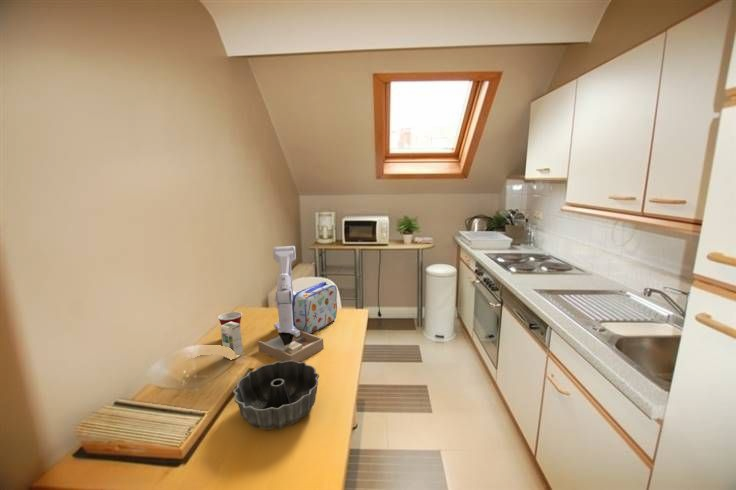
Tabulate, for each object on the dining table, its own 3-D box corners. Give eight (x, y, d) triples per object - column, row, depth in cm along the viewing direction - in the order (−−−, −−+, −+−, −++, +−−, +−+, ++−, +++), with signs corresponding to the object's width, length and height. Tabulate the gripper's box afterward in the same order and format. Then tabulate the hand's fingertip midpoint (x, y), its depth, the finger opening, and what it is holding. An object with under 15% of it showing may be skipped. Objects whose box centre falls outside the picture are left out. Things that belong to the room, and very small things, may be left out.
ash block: (285, 352, 140) (284, 345, 139) (294, 347, 143) (294, 341, 143) (293, 356, 136) (292, 349, 136) (302, 350, 140) (302, 344, 140)
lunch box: (325, 314, 185) (323, 276, 180) (341, 318, 179) (339, 278, 175) (291, 334, 161) (287, 291, 157) (307, 339, 156) (304, 294, 152)
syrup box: (223, 358, 141) (219, 326, 139) (234, 351, 147) (231, 320, 144) (232, 361, 139) (229, 328, 136) (243, 354, 144) (240, 322, 141)
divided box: (258, 350, 147) (257, 341, 146) (291, 335, 161) (290, 326, 160) (291, 366, 133) (290, 356, 132) (323, 348, 147) (323, 338, 146)
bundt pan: (218, 436, 97) (215, 406, 96) (259, 383, 123) (257, 358, 121) (306, 444, 94) (303, 412, 92) (329, 387, 119) (327, 361, 117)
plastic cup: (248, 333, 164) (245, 310, 162) (239, 343, 154) (236, 319, 152) (226, 333, 165) (223, 310, 162) (216, 343, 154) (213, 319, 152)
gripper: (267, 316, 141) (269, 346, 143) (289, 325, 132) (291, 356, 135) (280, 311, 146) (283, 340, 149) (303, 319, 138) (305, 349, 140)
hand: (288, 347), depth 142 cm, fingers closed
